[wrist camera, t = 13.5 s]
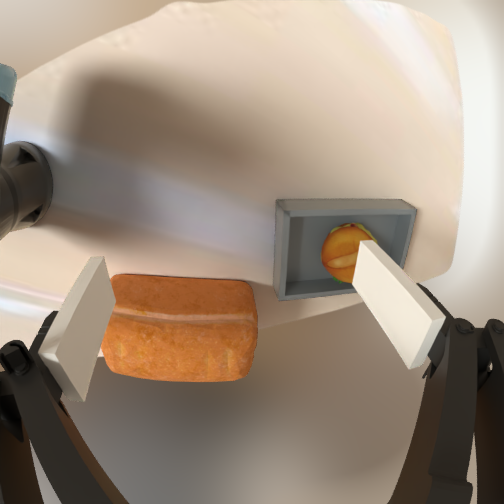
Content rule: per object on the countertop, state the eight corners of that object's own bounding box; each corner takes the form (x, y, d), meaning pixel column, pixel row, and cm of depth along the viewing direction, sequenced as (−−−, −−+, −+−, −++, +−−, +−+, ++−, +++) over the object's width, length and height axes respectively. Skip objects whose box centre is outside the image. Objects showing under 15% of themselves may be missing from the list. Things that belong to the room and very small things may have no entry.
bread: (245, 333, 59) (256, 396, 46) (117, 326, 55) (100, 388, 41) (254, 276, 53) (271, 339, 39) (108, 268, 48) (80, 328, 35)
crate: (272, 284, 54) (278, 301, 50) (276, 199, 47) (283, 210, 42) (386, 273, 57) (397, 286, 53) (401, 199, 50) (416, 209, 45)
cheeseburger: (346, 279, 55) (358, 306, 45) (303, 248, 53) (308, 271, 44) (380, 239, 51) (400, 259, 42) (338, 204, 50) (352, 218, 41)
